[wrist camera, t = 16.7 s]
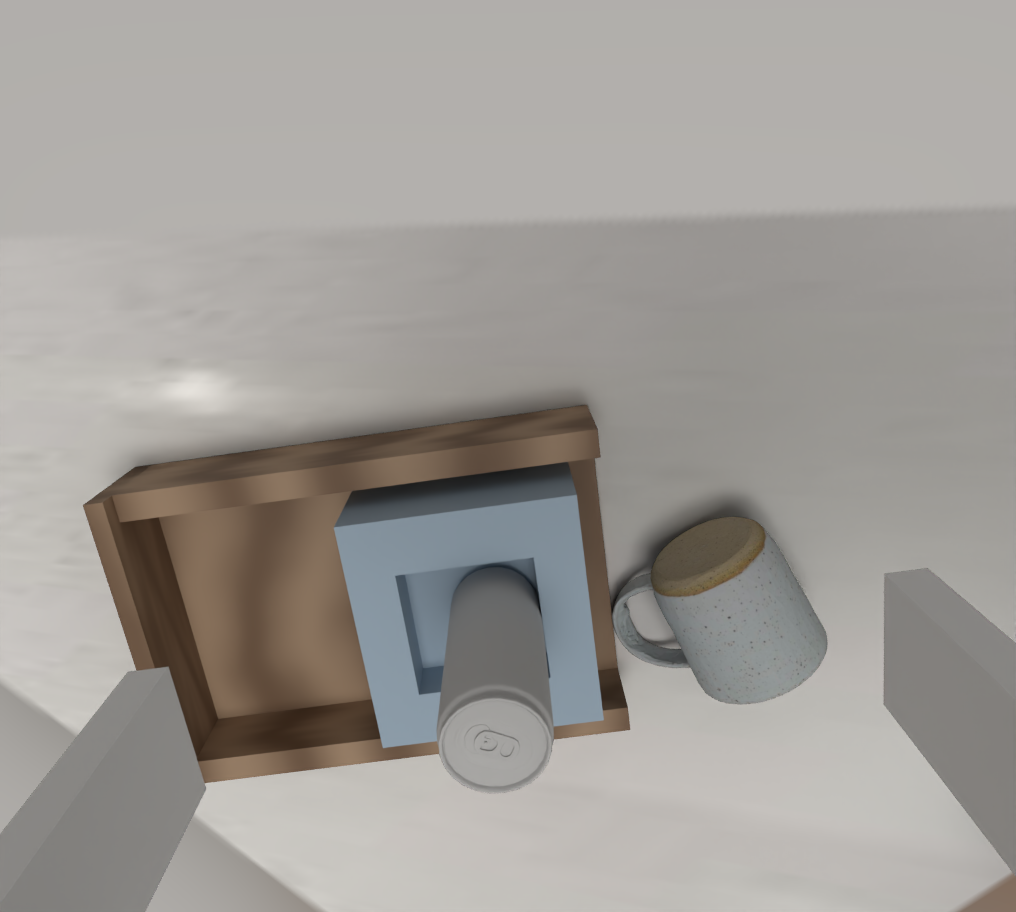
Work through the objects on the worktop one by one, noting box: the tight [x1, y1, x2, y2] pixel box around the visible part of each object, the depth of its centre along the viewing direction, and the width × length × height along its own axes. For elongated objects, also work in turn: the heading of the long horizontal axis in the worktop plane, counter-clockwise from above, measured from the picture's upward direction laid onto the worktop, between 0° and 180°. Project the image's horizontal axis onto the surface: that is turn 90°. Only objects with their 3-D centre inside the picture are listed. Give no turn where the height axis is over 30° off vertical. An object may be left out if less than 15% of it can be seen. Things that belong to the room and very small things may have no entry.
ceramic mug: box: [612, 517, 827, 704], centre depth 45 cm, size 11×8×8 cm
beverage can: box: [436, 567, 554, 793], centre depth 37 cm, size 5×5×12 cm
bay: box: [83, 405, 630, 783], centre depth 45 cm, size 26×18×6 cm
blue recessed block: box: [334, 462, 604, 748], centre depth 44 cm, size 12×13×6 cm
